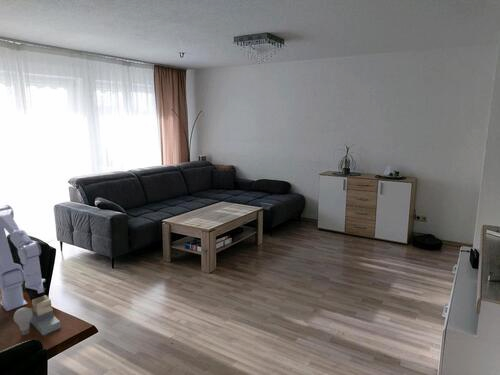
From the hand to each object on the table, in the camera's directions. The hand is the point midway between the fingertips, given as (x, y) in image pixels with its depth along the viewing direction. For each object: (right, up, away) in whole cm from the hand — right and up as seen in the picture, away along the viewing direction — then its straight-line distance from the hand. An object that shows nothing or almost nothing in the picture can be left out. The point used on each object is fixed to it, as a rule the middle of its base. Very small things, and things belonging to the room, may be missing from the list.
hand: (36, 303), depth 147 cm
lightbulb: (+1, -9, -9) cm, 13 cm away
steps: (+5, -8, -3) cm, 9 cm away
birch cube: (+4, -2, -4) cm, 6 cm away
